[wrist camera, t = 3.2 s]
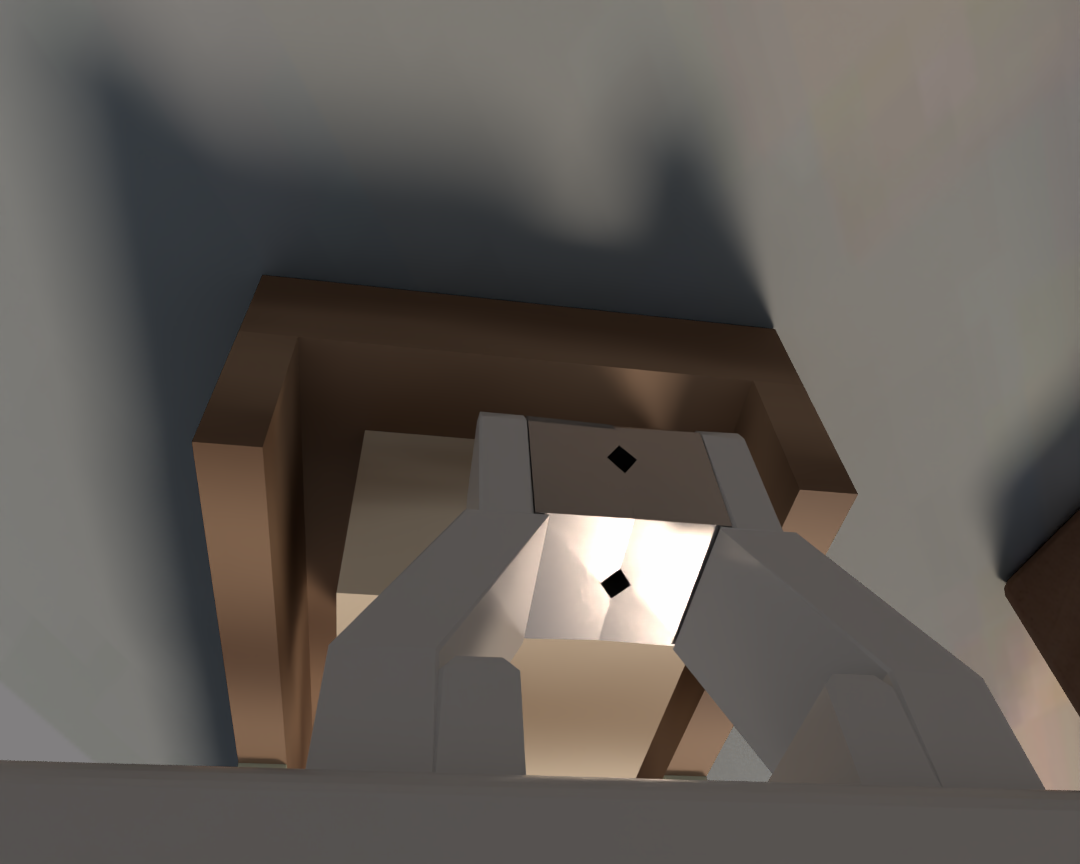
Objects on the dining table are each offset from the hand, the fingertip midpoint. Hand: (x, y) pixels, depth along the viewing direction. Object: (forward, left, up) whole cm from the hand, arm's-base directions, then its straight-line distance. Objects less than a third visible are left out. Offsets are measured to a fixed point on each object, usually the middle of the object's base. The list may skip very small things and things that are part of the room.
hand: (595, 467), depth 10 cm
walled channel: (+14, 0, -7) cm, 16 cm away
